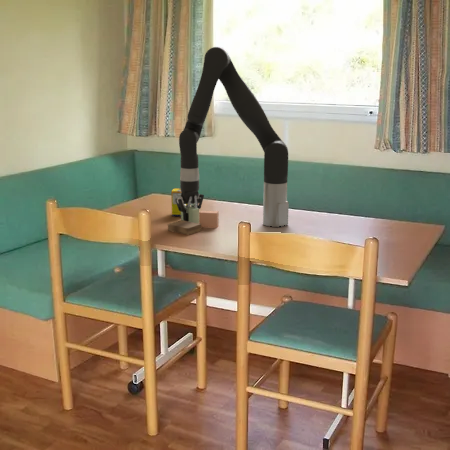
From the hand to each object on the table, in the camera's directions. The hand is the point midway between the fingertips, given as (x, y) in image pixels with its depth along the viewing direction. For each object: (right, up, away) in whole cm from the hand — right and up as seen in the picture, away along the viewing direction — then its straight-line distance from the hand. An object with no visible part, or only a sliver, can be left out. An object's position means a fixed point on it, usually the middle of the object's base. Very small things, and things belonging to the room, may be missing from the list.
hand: (190, 220), depth 257 cm
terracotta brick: (+8, -2, -6) cm, 10 cm away
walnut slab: (-1, -4, -12) cm, 13 cm away
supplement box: (-5, +2, +12) cm, 13 cm away
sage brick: (0, -1, 0) cm, 1 cm away
